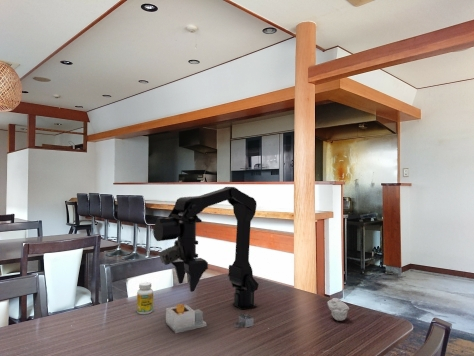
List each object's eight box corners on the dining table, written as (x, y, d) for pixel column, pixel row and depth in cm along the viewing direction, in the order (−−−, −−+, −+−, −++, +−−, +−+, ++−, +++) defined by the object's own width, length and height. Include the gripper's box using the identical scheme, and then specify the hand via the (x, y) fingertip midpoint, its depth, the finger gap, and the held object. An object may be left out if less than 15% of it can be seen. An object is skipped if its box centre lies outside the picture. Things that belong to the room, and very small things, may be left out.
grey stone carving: (327, 315, 115) (328, 294, 115) (349, 318, 113) (349, 297, 113) (326, 321, 110) (326, 300, 110) (349, 325, 107) (349, 303, 107)
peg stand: (195, 317, 112) (195, 297, 112) (206, 326, 105) (206, 305, 105) (166, 323, 106) (166, 302, 106) (175, 333, 99) (176, 311, 100)
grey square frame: (186, 316, 109) (186, 304, 109) (194, 324, 103) (195, 311, 103) (165, 321, 106) (166, 308, 106) (173, 329, 100) (174, 315, 100)
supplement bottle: (149, 307, 119) (150, 280, 120) (155, 312, 115) (155, 284, 115) (134, 310, 117) (135, 282, 117) (139, 315, 112) (140, 286, 112)
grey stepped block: (246, 321, 109) (246, 311, 109) (253, 325, 106) (253, 315, 106) (232, 324, 106) (232, 314, 106) (238, 329, 103) (238, 319, 103)
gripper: (152, 235, 110) (151, 283, 109) (173, 244, 94) (172, 301, 94) (184, 232, 115) (183, 278, 115) (208, 241, 100) (208, 294, 99)
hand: (186, 287), depth 106 cm, fingers open, 9 cm apart
